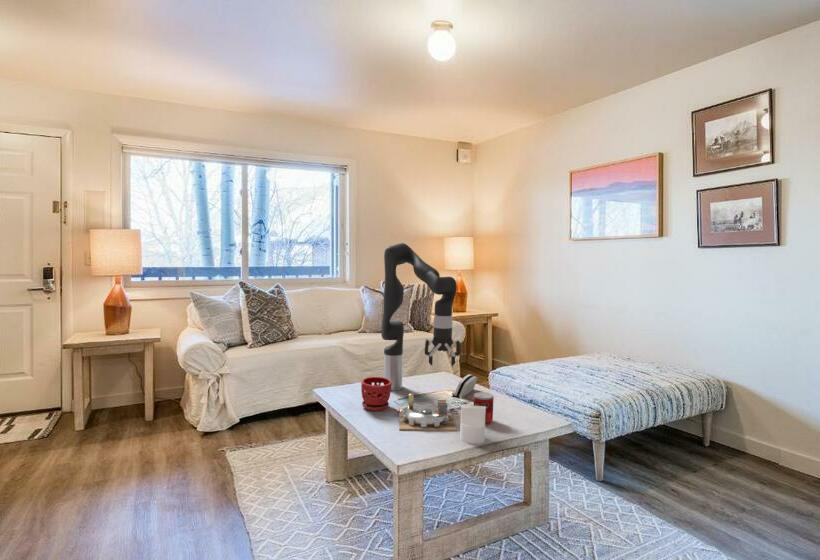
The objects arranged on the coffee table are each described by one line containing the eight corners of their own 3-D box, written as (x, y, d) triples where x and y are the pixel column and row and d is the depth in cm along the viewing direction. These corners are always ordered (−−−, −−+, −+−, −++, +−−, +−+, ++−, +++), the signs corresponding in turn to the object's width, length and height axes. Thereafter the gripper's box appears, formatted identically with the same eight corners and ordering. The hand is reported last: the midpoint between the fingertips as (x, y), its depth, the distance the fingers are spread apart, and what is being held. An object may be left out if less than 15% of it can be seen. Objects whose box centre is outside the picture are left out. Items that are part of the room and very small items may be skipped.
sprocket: (390, 418, 190) (391, 399, 189) (420, 405, 206) (421, 387, 205) (432, 431, 177) (432, 410, 177) (460, 416, 193) (461, 397, 193)
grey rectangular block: (437, 409, 194) (437, 399, 194) (445, 409, 194) (445, 399, 194) (438, 414, 188) (439, 404, 188) (447, 414, 189) (447, 404, 188)
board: (399, 410, 202) (399, 408, 202) (450, 410, 203) (450, 408, 203) (399, 430, 180) (399, 428, 180) (456, 430, 181) (456, 428, 181)
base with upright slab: (459, 442, 170) (460, 410, 170) (461, 432, 179) (461, 401, 178) (484, 444, 169) (485, 412, 168) (484, 434, 178) (485, 403, 177)
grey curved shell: (464, 387, 236) (471, 370, 234) (472, 392, 234) (479, 374, 232) (450, 396, 222) (457, 378, 219) (459, 401, 220) (466, 383, 217)
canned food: (469, 420, 192) (469, 394, 191) (482, 416, 197) (483, 390, 196) (483, 426, 186) (484, 399, 185) (496, 421, 191) (497, 395, 190)
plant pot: (359, 412, 199) (359, 384, 198) (363, 402, 212) (363, 375, 211) (390, 413, 198) (390, 385, 197) (392, 402, 211) (392, 376, 210)
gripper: (426, 327, 186) (425, 367, 188) (461, 328, 187) (460, 367, 188) (424, 324, 194) (423, 362, 195) (459, 324, 194) (457, 362, 196)
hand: (441, 365), depth 192 cm, fingers open, 8 cm apart
